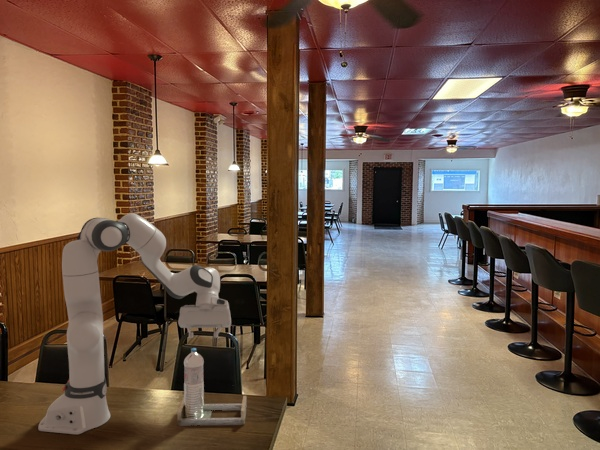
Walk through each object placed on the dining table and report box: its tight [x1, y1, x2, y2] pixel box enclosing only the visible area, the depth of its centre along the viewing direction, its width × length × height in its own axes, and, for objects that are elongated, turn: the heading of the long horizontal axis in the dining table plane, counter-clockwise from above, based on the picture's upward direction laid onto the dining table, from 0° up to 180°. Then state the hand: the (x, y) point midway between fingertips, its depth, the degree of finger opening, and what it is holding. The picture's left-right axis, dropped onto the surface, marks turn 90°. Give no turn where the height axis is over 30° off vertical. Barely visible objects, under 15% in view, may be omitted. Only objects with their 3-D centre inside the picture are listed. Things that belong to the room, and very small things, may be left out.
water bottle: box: [183, 347, 205, 418], centre depth 160 cm, size 7×7×25 cm
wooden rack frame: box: [176, 395, 247, 427], centre depth 161 cm, size 23×11×5 cm, turn 93°
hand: (203, 337), depth 171 cm, fingers open, 8 cm apart
